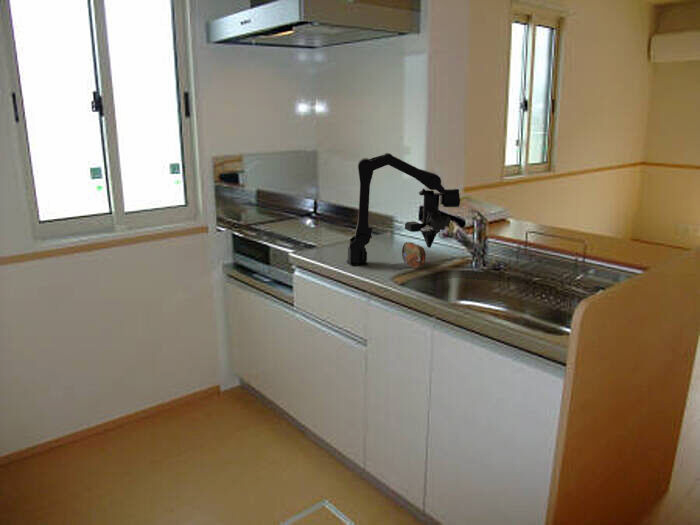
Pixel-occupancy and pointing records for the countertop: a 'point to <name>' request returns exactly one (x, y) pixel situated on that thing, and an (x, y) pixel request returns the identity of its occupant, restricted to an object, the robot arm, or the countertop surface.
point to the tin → (413, 255)
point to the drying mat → (400, 265)
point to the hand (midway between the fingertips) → (429, 247)
